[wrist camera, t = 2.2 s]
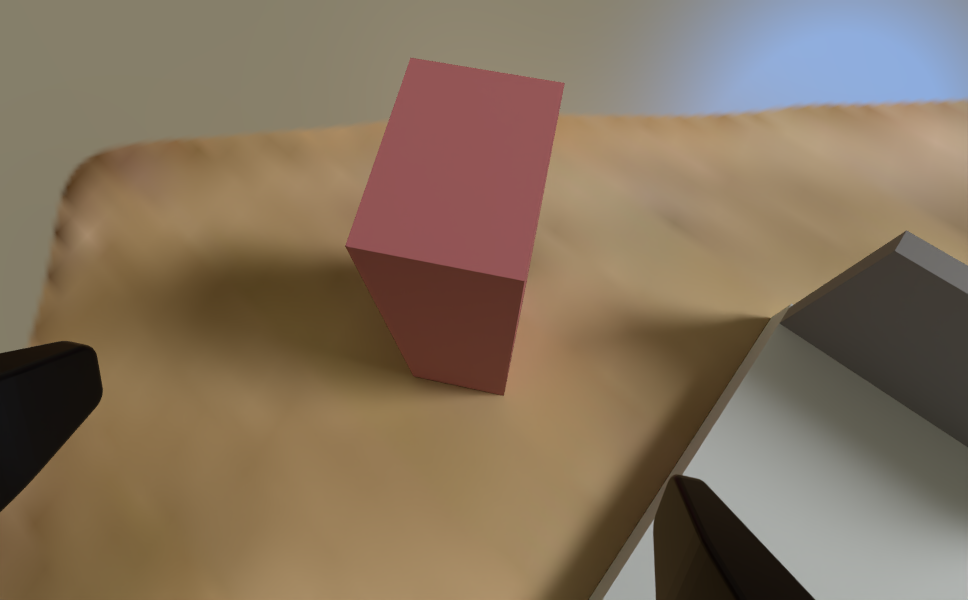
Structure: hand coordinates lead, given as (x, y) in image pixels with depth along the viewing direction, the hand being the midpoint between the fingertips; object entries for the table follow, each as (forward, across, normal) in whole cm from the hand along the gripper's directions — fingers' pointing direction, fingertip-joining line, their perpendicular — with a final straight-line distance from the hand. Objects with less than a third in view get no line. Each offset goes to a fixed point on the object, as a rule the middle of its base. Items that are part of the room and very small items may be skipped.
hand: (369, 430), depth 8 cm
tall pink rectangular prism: (+13, 0, +4) cm, 14 cm away
